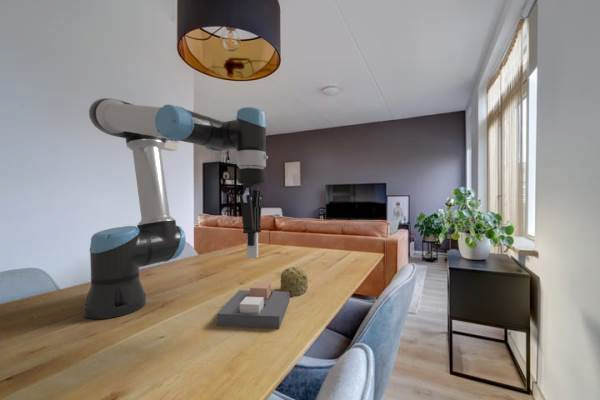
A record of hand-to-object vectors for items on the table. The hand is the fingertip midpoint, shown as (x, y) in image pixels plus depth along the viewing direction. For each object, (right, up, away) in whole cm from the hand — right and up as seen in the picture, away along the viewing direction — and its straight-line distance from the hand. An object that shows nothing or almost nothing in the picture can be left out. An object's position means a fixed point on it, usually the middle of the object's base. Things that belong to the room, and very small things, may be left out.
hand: (252, 257), depth 71 cm
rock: (+10, -16, +21) cm, 28 cm away
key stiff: (+1, -14, +8) cm, 16 cm away
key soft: (0, -15, -1) cm, 15 cm away
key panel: (0, -16, +4) cm, 17 cm away
